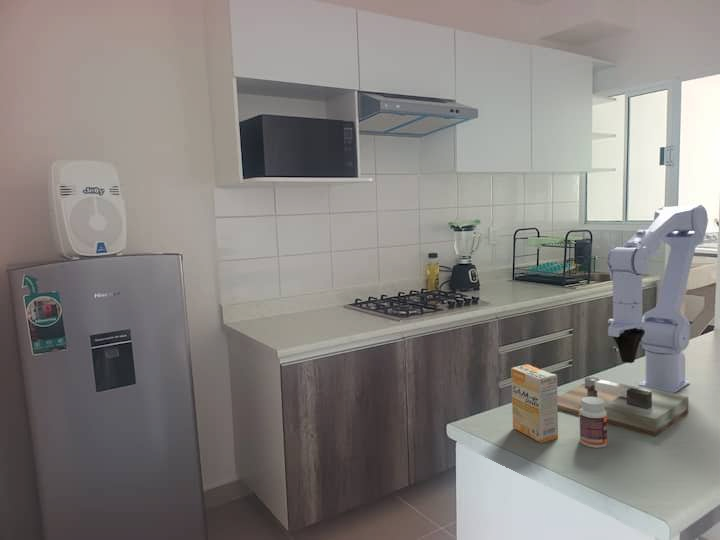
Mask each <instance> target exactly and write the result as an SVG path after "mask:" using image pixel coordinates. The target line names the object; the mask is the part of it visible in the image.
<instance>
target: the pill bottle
mask: <svg viewBox="0 0 720 540" xmlns="http://www.w3.org/2000/svg"><path fill="white" fill-rule="evenodd" d="M581 407H582V408H581V409H580V411H579V415H578V416H579V441H580V442H581V444H582V445H584V446H586V447H589V448H594V449H595V448H596V449H598V448H604V447H606V446H607V445H608V423H607V412H606V411H605V410H604V409H605V401H604V400H603V399H601V398H597V397H584V398H582V399H581Z"/></svg>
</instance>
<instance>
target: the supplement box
mask: <svg viewBox="0 0 720 540" xmlns="http://www.w3.org/2000/svg"><path fill="white" fill-rule="evenodd" d="M510 371H511V372H510V375H511V377H510V378H511V405H512V406H511V407H512V408H511V409H512V429H514V430H516V431H518V432H520V433H522V434H524V435H526V436H527V437H529V438H532V439H533V440H535V441H536V442H537V443H539V444H543V443H546V442H550V441H554V440H556V439H558V438H559V425H558V424H559V423H558V422H559V420H558V419H559V416H558V415H559V414H558V410H559V409H558V405H557V397H558V374H555V373H553V372H550V371H547V370H544V369H542V368H539V367H536V366H533V365H532V364H528V363H527V364H523V365H519V366H514V367H511V368H510Z"/></svg>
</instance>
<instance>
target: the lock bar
mask: <svg viewBox="0 0 720 540" xmlns="http://www.w3.org/2000/svg"><path fill="white" fill-rule="evenodd" d="M584 384H585V388H586V389H588V390H595V391H600V392H604V393H608V394H613V395H617V396H621V397H626V398H627V390H628V389H630V388H634V389H639V390H643V391H648V392H652V390H647V389H642V388H638V387H637V386H632V385H628V384H623V383H619V382H612V381H609V380H605V379H600V378H599V377H593V376H589V377H587V376H586V377H585V378H584Z"/></svg>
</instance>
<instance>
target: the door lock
mask: <svg viewBox="0 0 720 540" xmlns="http://www.w3.org/2000/svg"><path fill="white" fill-rule="evenodd" d="M636 387H638V388H642V389H647V390H652V392H648V391H643V390H639V389H634V388H630V389H628V390H627V398H626V397H621V396H617V395H613V394H608V393H604V392H600V391H595V390H588V389H586V388H585V383H581V384H580V385H578V386H576V387H574V388H572V389H570V390H568V391H565V392H563V393H562V394H560V395H557V405H558V410H560V411H562V410H564V411H563V412H566V411H567V412H566V413H569V412H571V413H570V414H573V413H575V414H574V415H576V414H579V411H580V409H581V408H582V407H581V399H582V398H584V397H597V398H601V399H603V400H604V401H605V409H604V410H605V411H606V412H607V424H608V423H609V425H613V426H616V427H619V428H623V429H626V428H627V430H631V431H633V430H634V431H633V432H637V433H640V432H641V433H640V434H644V435H648V436H651V437H658V436H659V435H661V434H662V433H663V432H665V430H667V429H668V428H670V427H671V426H672V425H673V424H675V423H676V422H678V421H679V420H681V418H683V417H684V416H685V415H687V414H688V413H689V396H688V395H684V394H679V393H676V392H675V393H671V392H666V391H661V390H657V389H652V388H647V387H642V386H639V385H637V386H636Z"/></svg>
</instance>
